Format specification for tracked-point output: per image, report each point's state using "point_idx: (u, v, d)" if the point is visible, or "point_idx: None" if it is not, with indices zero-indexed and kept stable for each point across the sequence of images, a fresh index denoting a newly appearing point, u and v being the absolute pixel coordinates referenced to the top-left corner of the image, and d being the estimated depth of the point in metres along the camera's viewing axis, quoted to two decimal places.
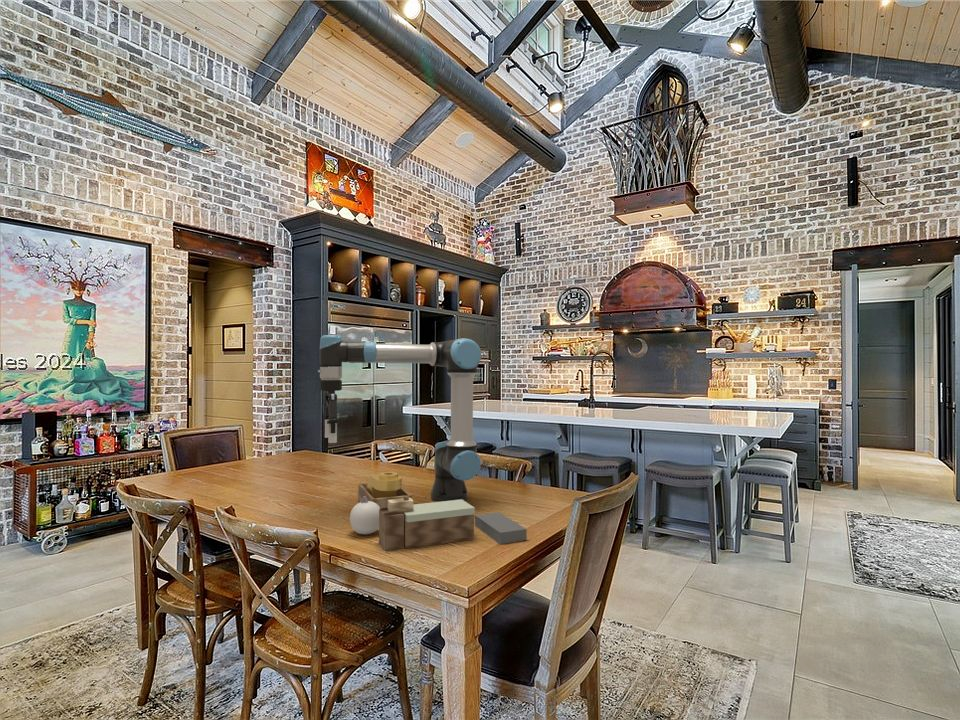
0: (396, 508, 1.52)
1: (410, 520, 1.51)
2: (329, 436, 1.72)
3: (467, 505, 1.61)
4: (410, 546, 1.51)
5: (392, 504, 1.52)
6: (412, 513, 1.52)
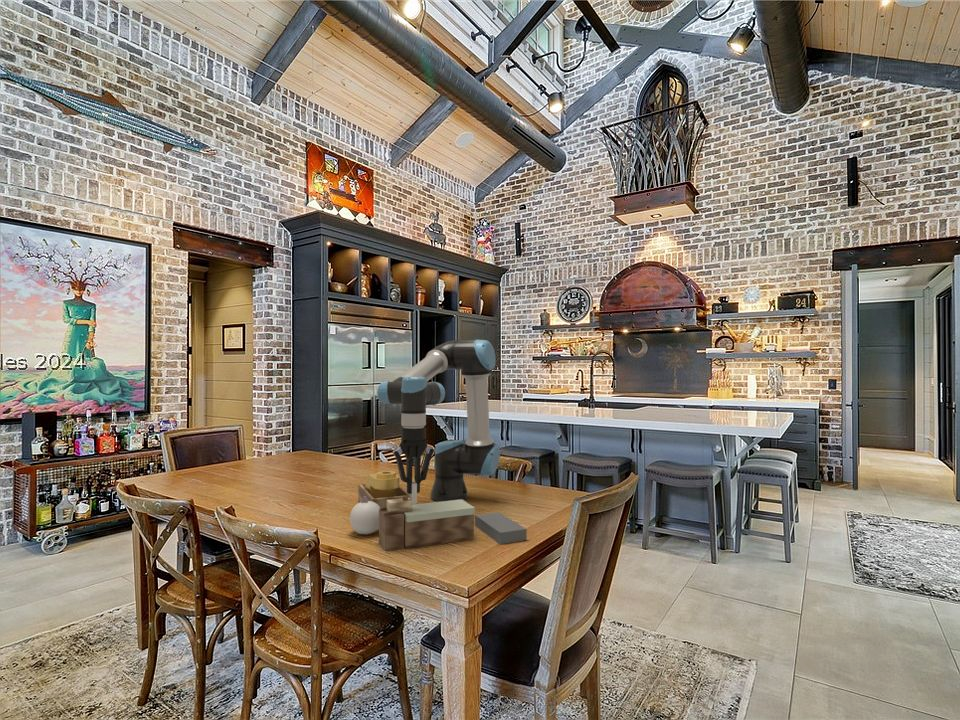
0: (395, 508, 1.52)
1: (410, 520, 1.51)
2: (410, 496, 1.57)
3: (467, 505, 1.61)
4: (410, 546, 1.51)
5: (391, 504, 1.52)
6: (412, 513, 1.52)
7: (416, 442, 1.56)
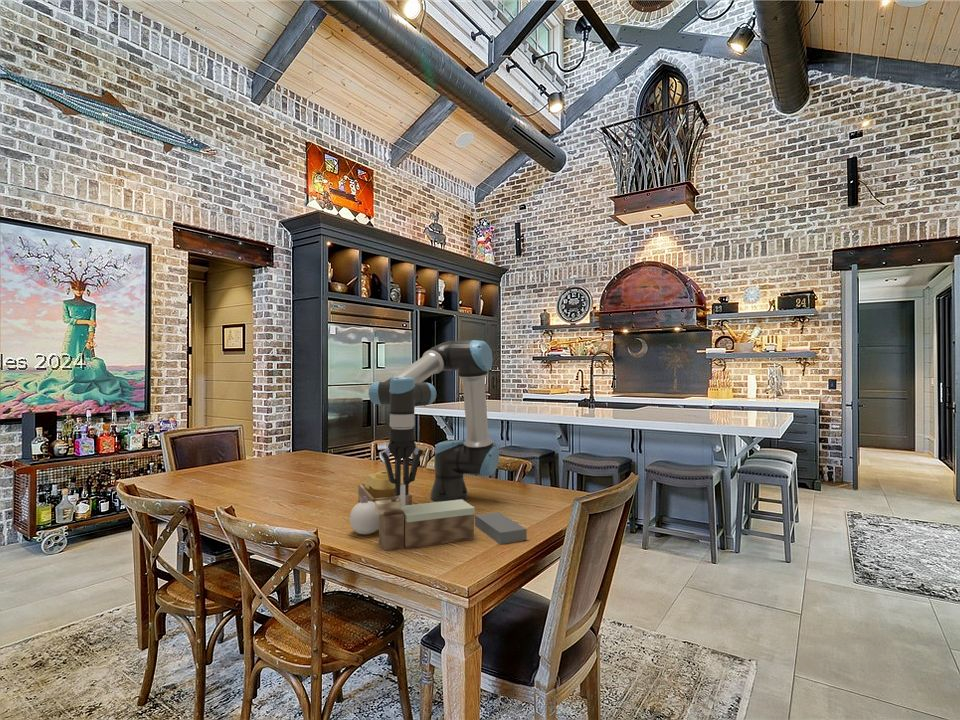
0: (383, 509, 1.51)
1: (410, 520, 1.51)
2: (398, 497, 1.56)
3: (467, 505, 1.61)
4: (410, 546, 1.51)
5: (379, 505, 1.51)
6: (412, 513, 1.52)
7: (404, 443, 1.55)
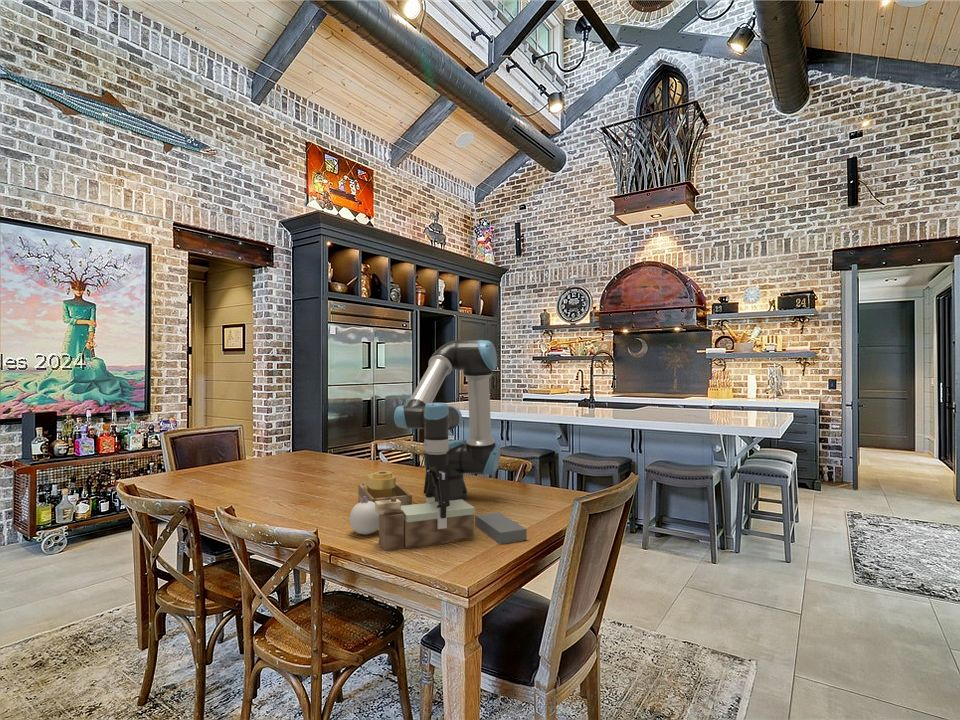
0: (383, 509, 1.51)
1: (410, 520, 1.51)
2: (439, 521, 1.53)
3: (467, 505, 1.61)
4: (410, 546, 1.51)
5: (379, 505, 1.51)
6: (412, 513, 1.52)
7: None
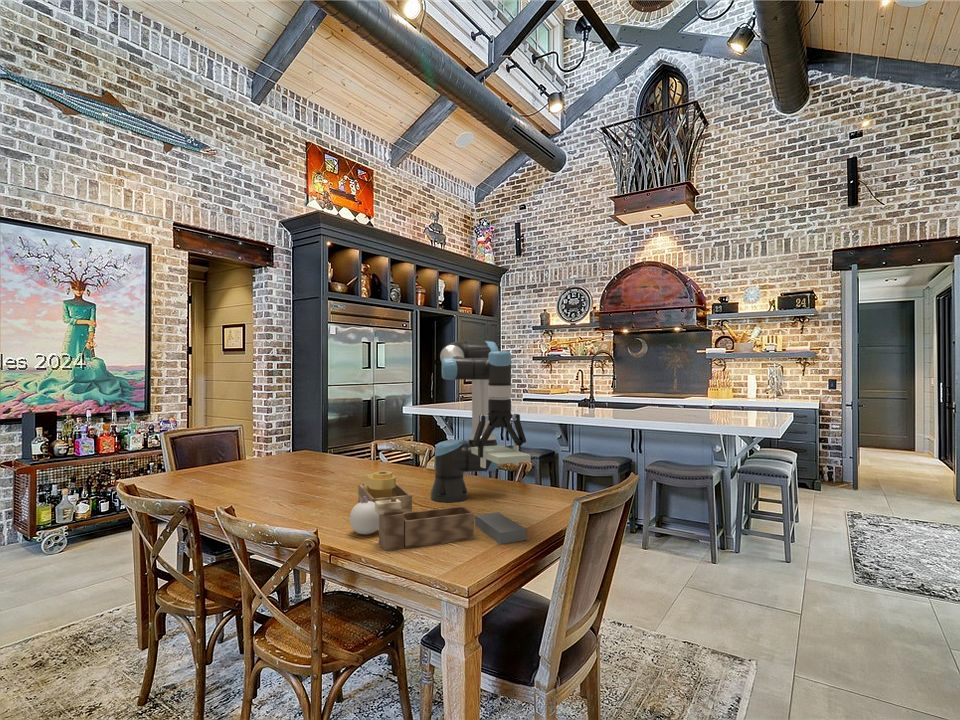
0: (383, 509, 1.51)
1: (472, 452, 1.73)
2: (481, 460, 1.65)
3: (506, 456, 1.56)
4: (410, 546, 1.51)
5: (379, 505, 1.51)
6: (477, 447, 1.73)
7: (502, 413, 1.66)
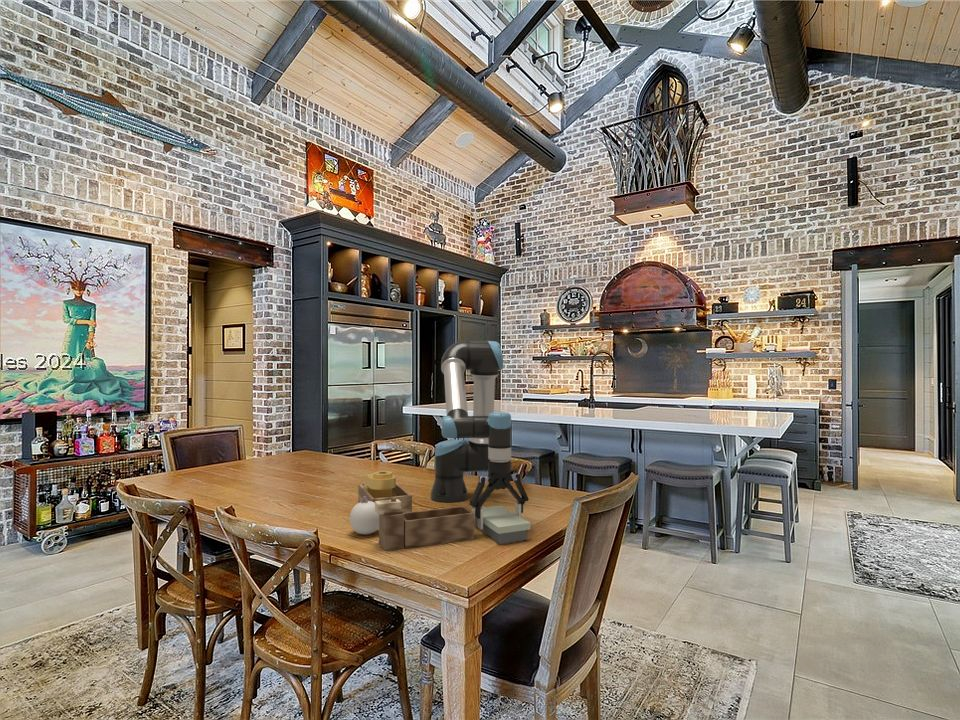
0: (383, 509, 1.51)
1: None
2: (478, 520, 1.64)
3: (506, 524, 1.56)
4: (410, 546, 1.51)
5: (379, 505, 1.51)
6: None
7: (502, 475, 1.65)
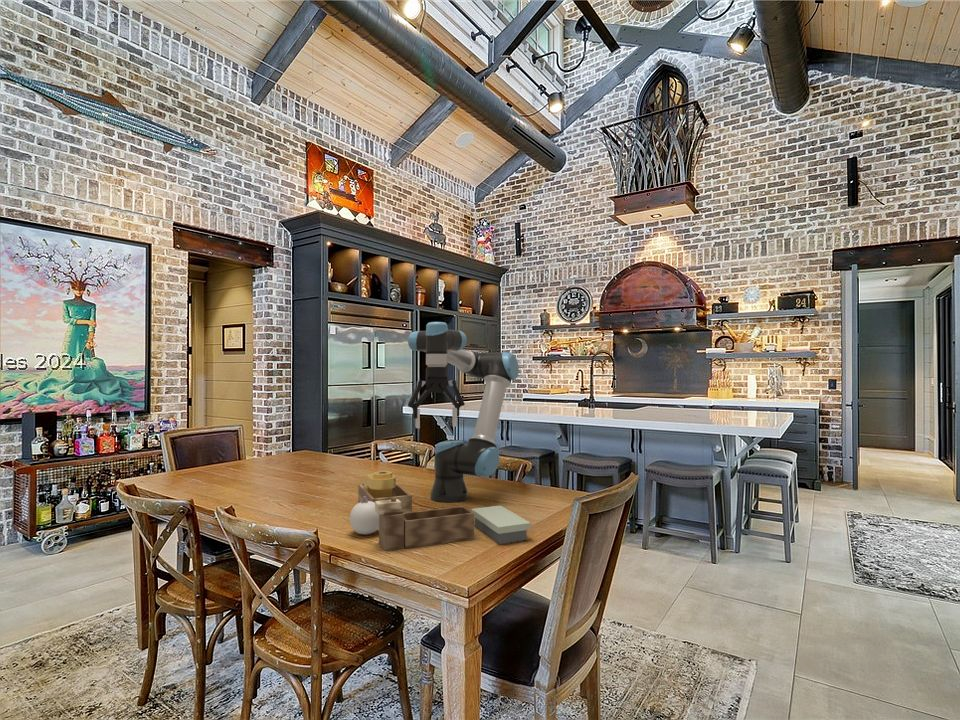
0: (383, 509, 1.51)
1: None
2: (416, 421, 1.77)
3: (506, 524, 1.56)
4: (410, 546, 1.51)
5: (379, 505, 1.51)
6: (477, 510, 1.72)
7: (439, 379, 1.78)
